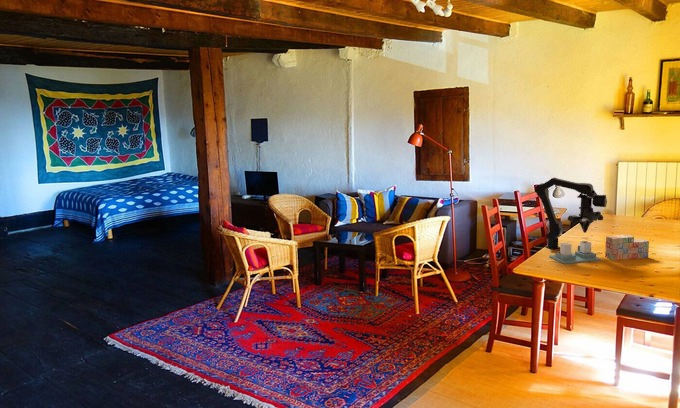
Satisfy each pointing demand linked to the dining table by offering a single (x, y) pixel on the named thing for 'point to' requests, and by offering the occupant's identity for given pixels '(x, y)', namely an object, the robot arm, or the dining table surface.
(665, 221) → the dining table surface
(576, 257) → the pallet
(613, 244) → the stack of blocks
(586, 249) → the steel billet
